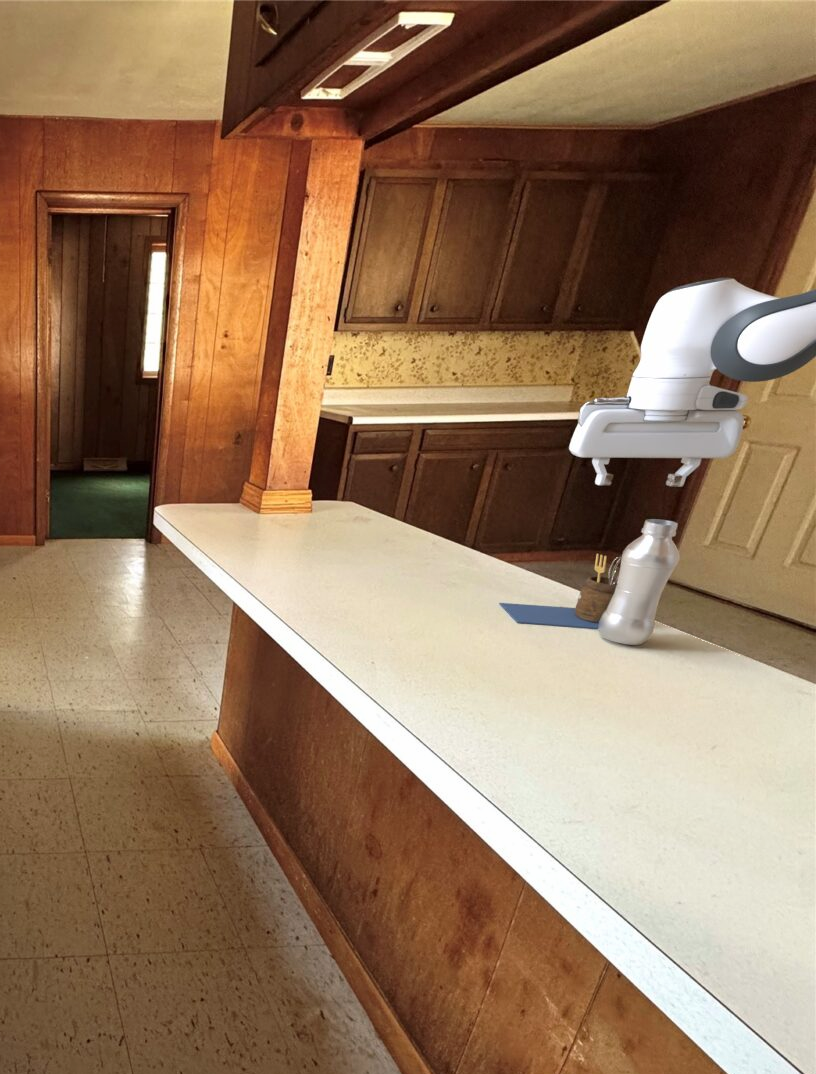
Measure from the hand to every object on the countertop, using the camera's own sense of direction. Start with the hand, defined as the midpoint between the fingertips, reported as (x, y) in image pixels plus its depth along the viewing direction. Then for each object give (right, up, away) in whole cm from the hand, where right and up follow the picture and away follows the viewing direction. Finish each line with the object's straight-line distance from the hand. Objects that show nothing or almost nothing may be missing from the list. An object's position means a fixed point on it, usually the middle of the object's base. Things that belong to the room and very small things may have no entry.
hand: (637, 485), depth 107 cm
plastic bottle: (-2, -25, +1) cm, 26 cm away
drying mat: (-4, -22, +10) cm, 24 cm away
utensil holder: (+1, -22, +9) cm, 24 cm away
